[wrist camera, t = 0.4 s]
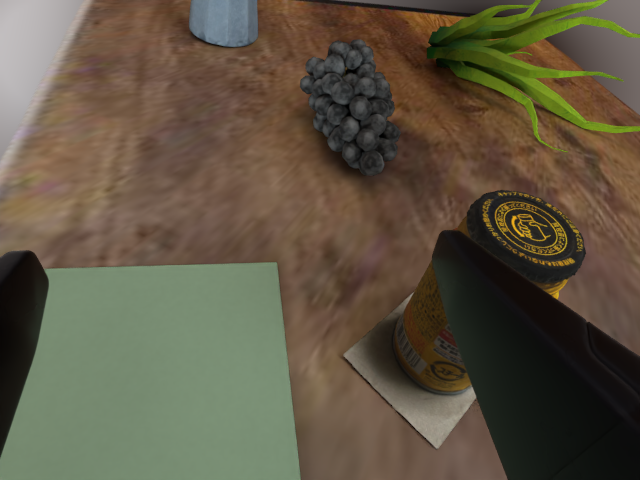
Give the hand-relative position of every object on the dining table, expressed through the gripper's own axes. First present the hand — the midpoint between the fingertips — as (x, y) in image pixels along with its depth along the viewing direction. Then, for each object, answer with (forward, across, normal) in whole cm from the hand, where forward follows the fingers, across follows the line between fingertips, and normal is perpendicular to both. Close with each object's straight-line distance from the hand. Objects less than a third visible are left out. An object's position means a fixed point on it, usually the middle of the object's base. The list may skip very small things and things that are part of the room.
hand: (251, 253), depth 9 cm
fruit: (+29, -9, +14) cm, 34 cm away
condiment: (+7, -10, +17) cm, 21 cm away
